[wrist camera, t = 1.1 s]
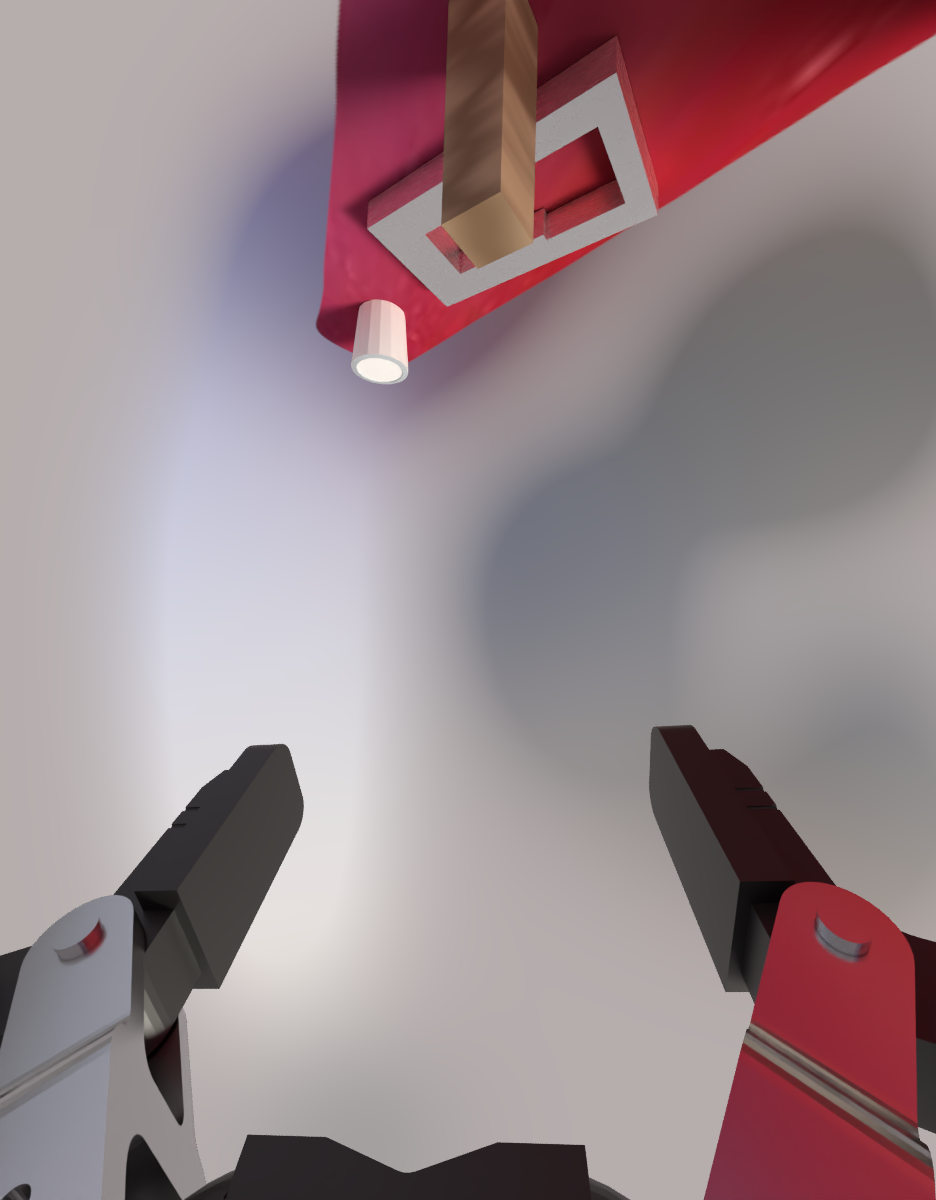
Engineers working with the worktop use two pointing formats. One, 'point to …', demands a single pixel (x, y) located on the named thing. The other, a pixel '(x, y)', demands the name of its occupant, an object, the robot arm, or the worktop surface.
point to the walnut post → (490, 127)
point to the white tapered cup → (380, 343)
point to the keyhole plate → (562, 115)
